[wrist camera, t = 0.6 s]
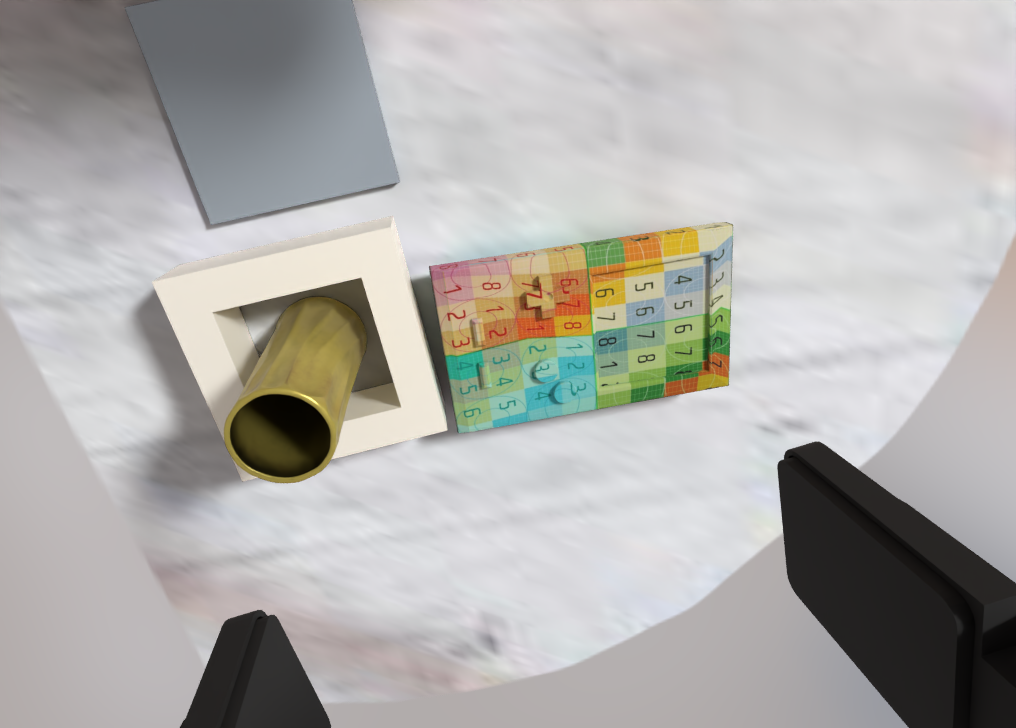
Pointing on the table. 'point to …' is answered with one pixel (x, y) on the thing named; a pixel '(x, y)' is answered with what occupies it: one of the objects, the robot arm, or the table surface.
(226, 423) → the vase
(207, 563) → the table surface
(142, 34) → the mat
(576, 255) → the puzzle game
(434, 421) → the well board
